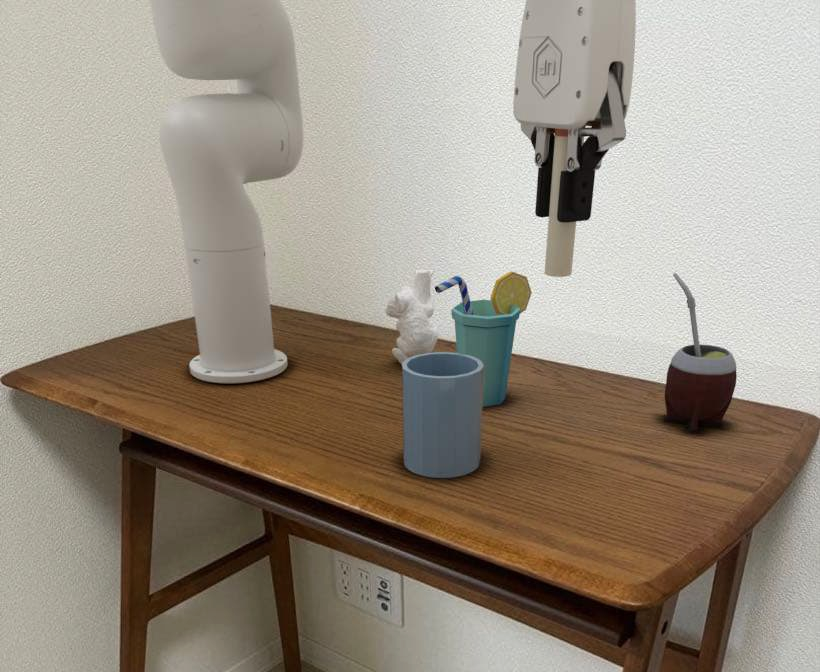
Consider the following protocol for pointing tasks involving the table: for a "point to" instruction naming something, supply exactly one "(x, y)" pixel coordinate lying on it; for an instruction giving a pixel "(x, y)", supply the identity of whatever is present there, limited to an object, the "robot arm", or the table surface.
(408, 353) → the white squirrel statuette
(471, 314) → the cup
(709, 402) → the mate gourd
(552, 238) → the beige cylinder rod
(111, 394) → the table surface
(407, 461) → the tumbler
